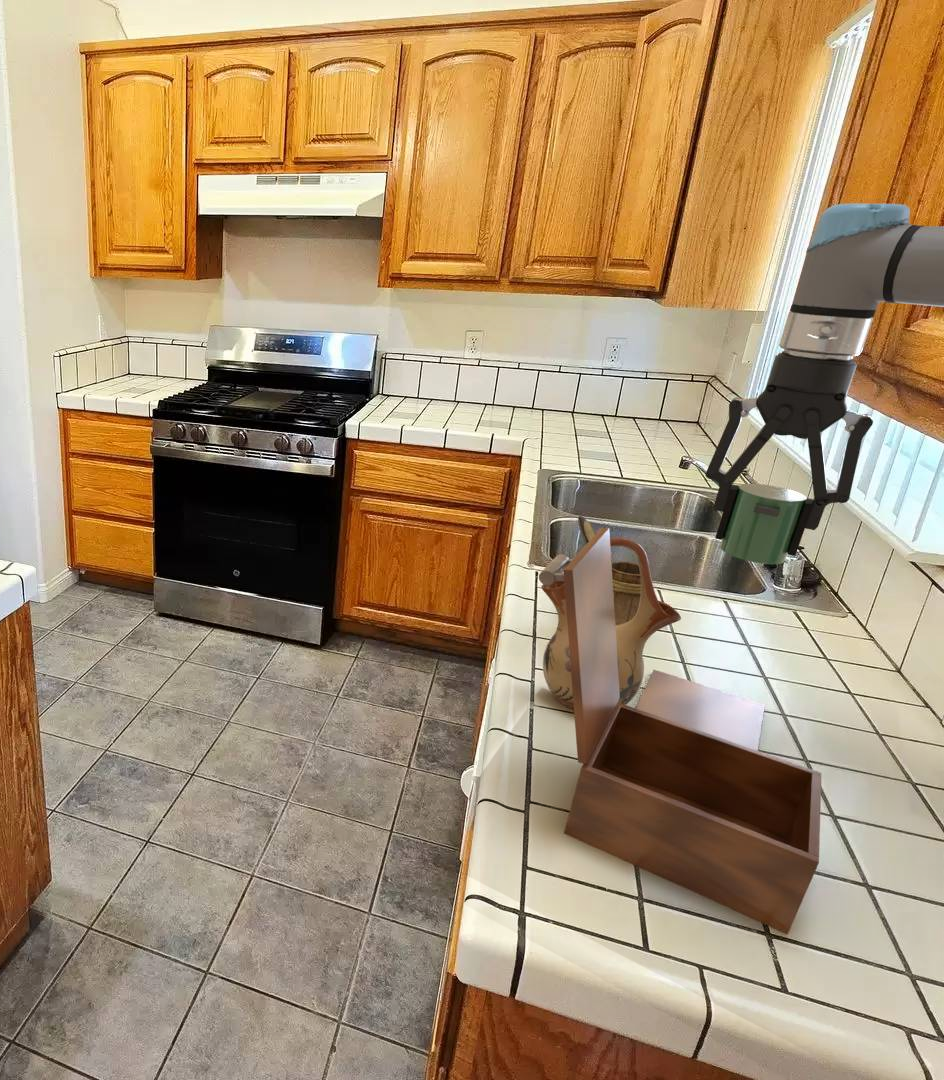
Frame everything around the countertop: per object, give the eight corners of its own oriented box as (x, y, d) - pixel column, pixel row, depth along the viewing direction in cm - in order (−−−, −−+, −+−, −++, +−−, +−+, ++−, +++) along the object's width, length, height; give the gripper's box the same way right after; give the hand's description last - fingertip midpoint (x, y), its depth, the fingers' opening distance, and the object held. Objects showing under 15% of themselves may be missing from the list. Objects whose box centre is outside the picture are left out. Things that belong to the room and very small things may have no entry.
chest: (792, 843, 81) (821, 772, 77) (785, 940, 69) (819, 862, 65) (597, 765, 91) (615, 700, 88) (562, 838, 80) (581, 767, 76)
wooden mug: (562, 604, 133) (584, 508, 126) (647, 627, 126) (675, 527, 119) (549, 622, 126) (572, 522, 120) (639, 648, 119) (668, 543, 113)
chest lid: (609, 527, 83) (564, 527, 86) (572, 570, 71) (522, 568, 74) (620, 697, 87) (577, 692, 90) (586, 764, 76) (538, 755, 79)
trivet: (763, 708, 105) (765, 704, 104) (756, 757, 94) (757, 753, 94) (652, 672, 112) (653, 669, 112) (633, 714, 102) (634, 710, 102)
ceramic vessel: (649, 709, 103) (699, 540, 94) (647, 744, 96) (701, 564, 86) (524, 674, 110) (559, 514, 101) (513, 704, 103) (550, 534, 94)
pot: (786, 549, 95) (807, 489, 92) (783, 572, 88) (805, 508, 85) (724, 536, 99) (742, 477, 96) (715, 557, 92) (735, 494, 89)
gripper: (711, 347, 87) (660, 532, 96) (936, 369, 76) (856, 576, 85) (719, 342, 93) (670, 517, 101) (929, 362, 82) (854, 556, 90)
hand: (754, 543), depth 93 cm, fingers closed on pot, 7 cm apart
